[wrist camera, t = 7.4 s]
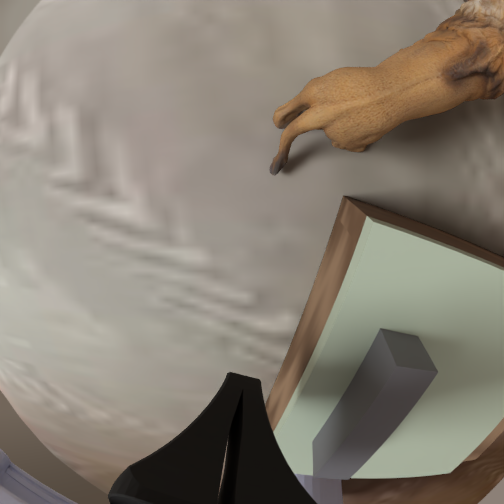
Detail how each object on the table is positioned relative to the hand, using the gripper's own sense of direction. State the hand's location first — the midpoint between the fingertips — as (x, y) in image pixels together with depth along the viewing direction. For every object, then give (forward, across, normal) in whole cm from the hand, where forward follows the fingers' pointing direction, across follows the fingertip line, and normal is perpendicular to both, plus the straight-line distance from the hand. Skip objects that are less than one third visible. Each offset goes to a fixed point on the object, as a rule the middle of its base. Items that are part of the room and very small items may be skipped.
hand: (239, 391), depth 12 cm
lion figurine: (+7, -3, -15) cm, 17 cm away
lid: (+2, -11, 0) cm, 11 cm away
